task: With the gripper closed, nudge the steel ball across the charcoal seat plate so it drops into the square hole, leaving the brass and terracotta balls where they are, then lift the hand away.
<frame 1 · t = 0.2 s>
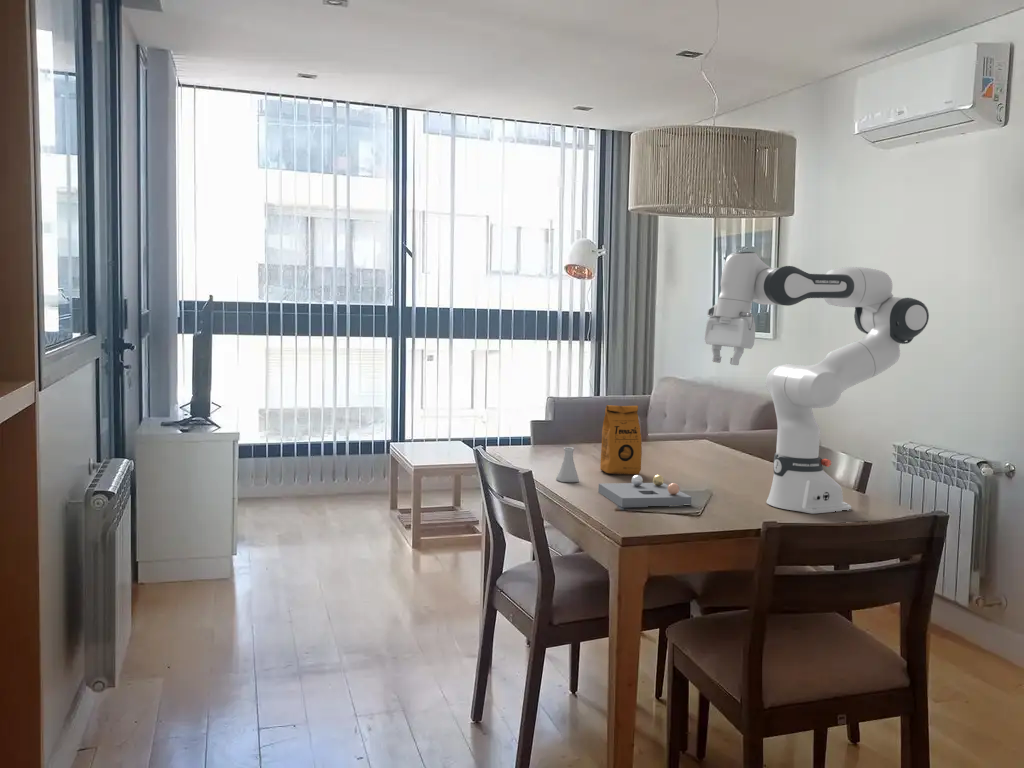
hand: (725, 363, 221), 39 cm above the table, tool pointing down, fingers open, 8 cm apart
brass ball: (658, 480, 237), point 4 cm above the table, touching seat plate
seat plate: (643, 498, 230), on the table
flask: (567, 481, 251), on the table
steel ball: (637, 480, 235), point 4 cm above the table, touching seat plate
terracotta ball: (673, 488, 226), point 4 cm above the table, touching seat plate
coffee package: (620, 473, 266), on the table
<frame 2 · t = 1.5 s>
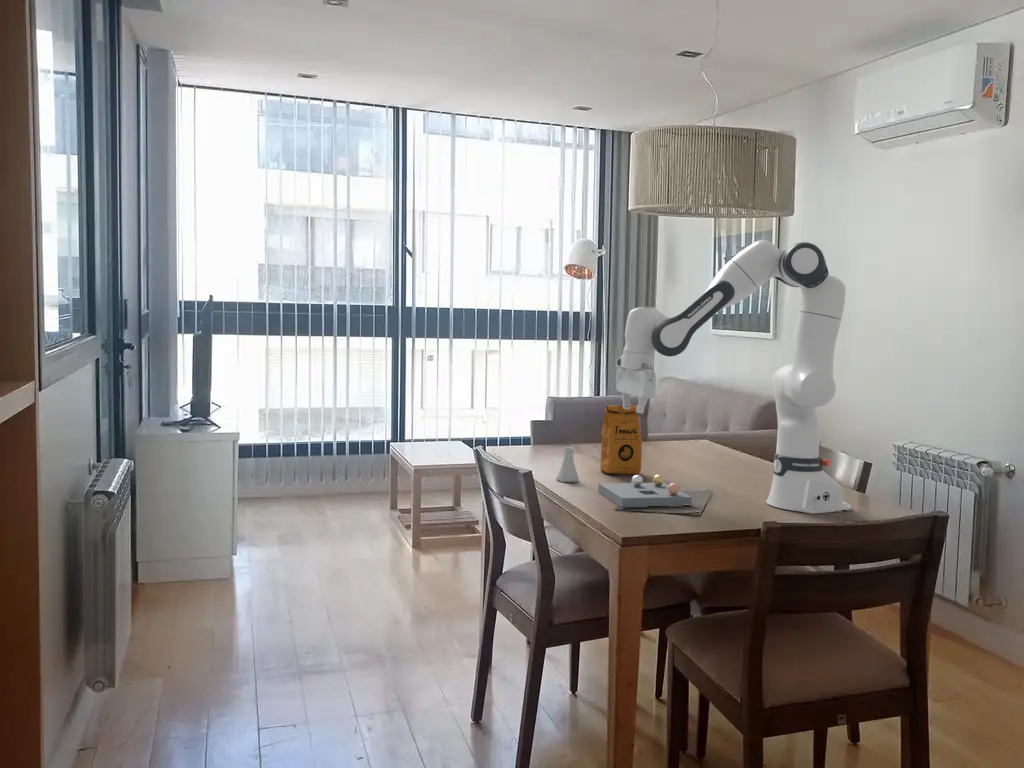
hand: (633, 411, 237), 23 cm above the table, tool pointing down, fingers open, 8 cm apart
nothing on the table moved.
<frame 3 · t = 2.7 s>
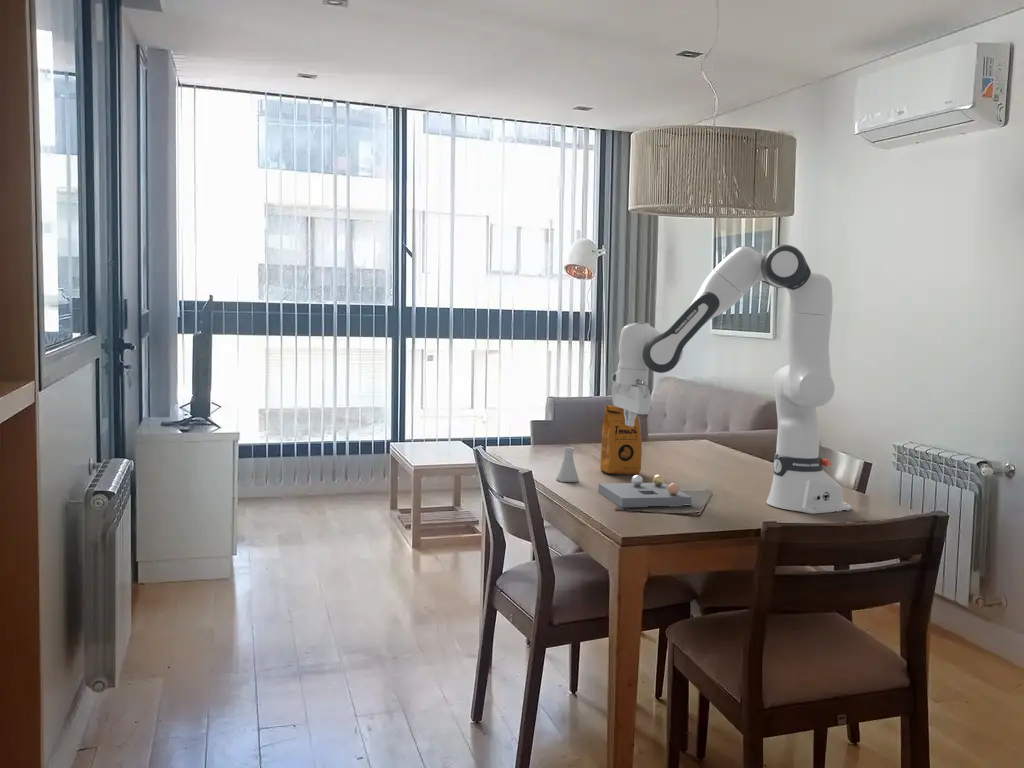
hand: (629, 425, 241), 19 cm above the table, tool pointing down, fingers closed
nothing on the table moved.
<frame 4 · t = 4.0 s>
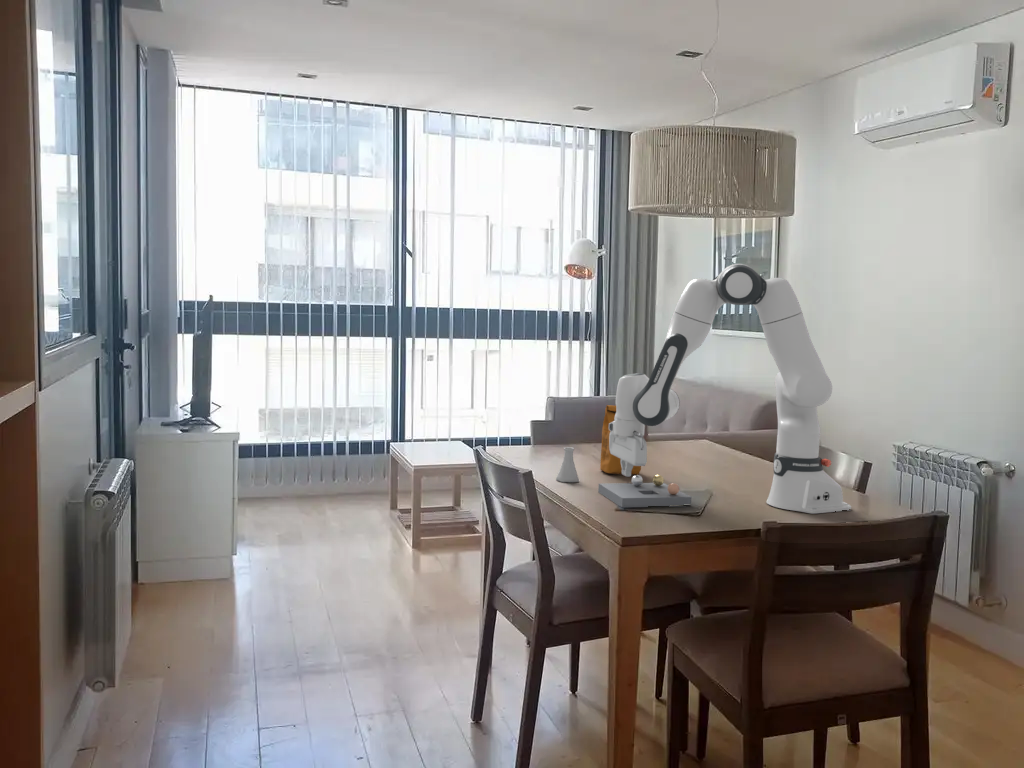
hand: (626, 475, 242), 4 cm above the table, tool pointing down, fingers closed
nothing on the table moved.
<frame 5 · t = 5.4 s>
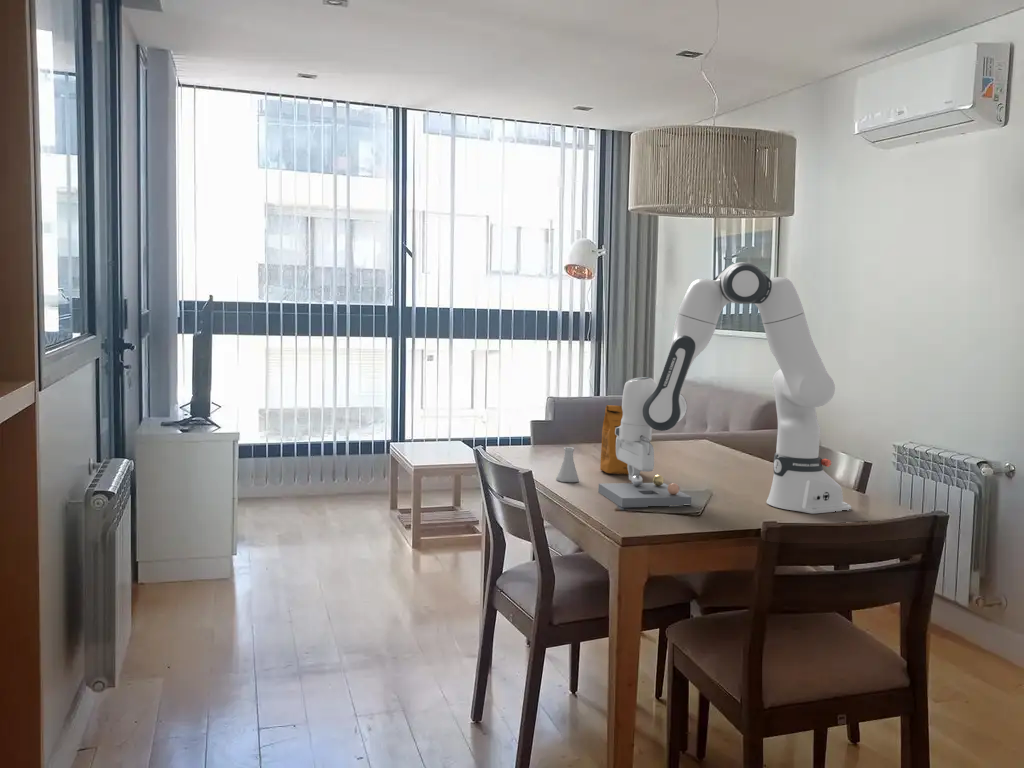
hand: (633, 481, 238), 3 cm above the table, tool pointing down, fingers closed
steel ball: (637, 480, 235), point 4 cm above the table, touching gripper, seat plate
everything else where it was.
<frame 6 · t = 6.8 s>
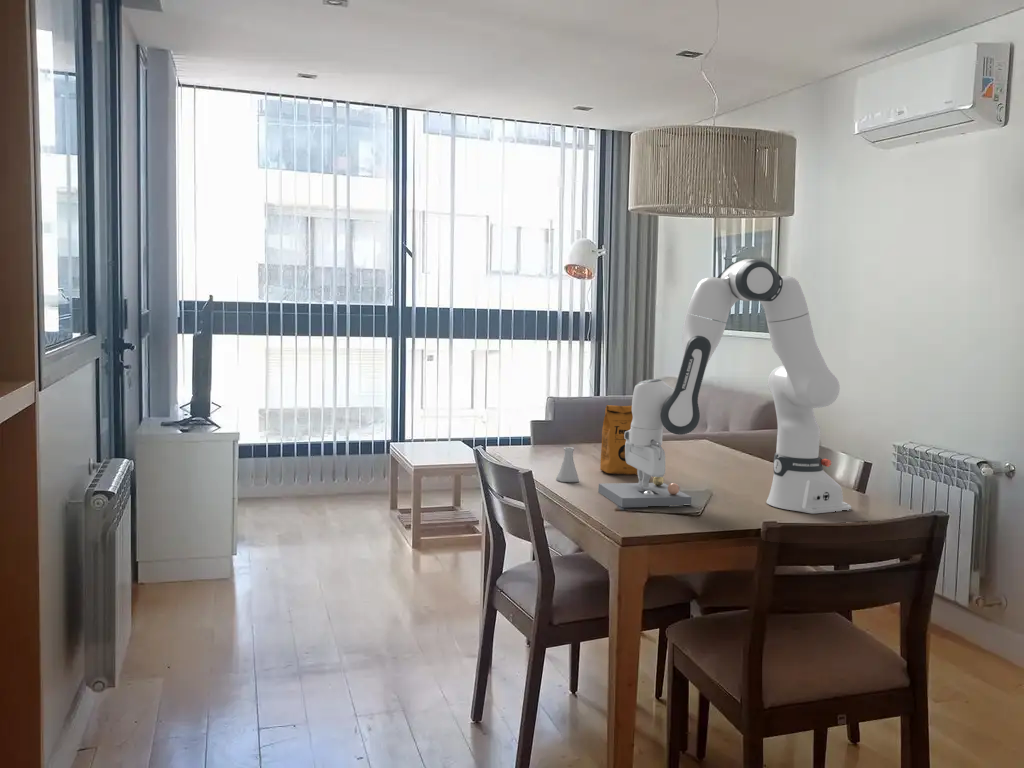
hand: (643, 486, 231), 3 cm above the table, tool pointing down, fingers closed
steel ball: (648, 496, 227), point 2 cm above the table, tilted 19°
everything else where it was.
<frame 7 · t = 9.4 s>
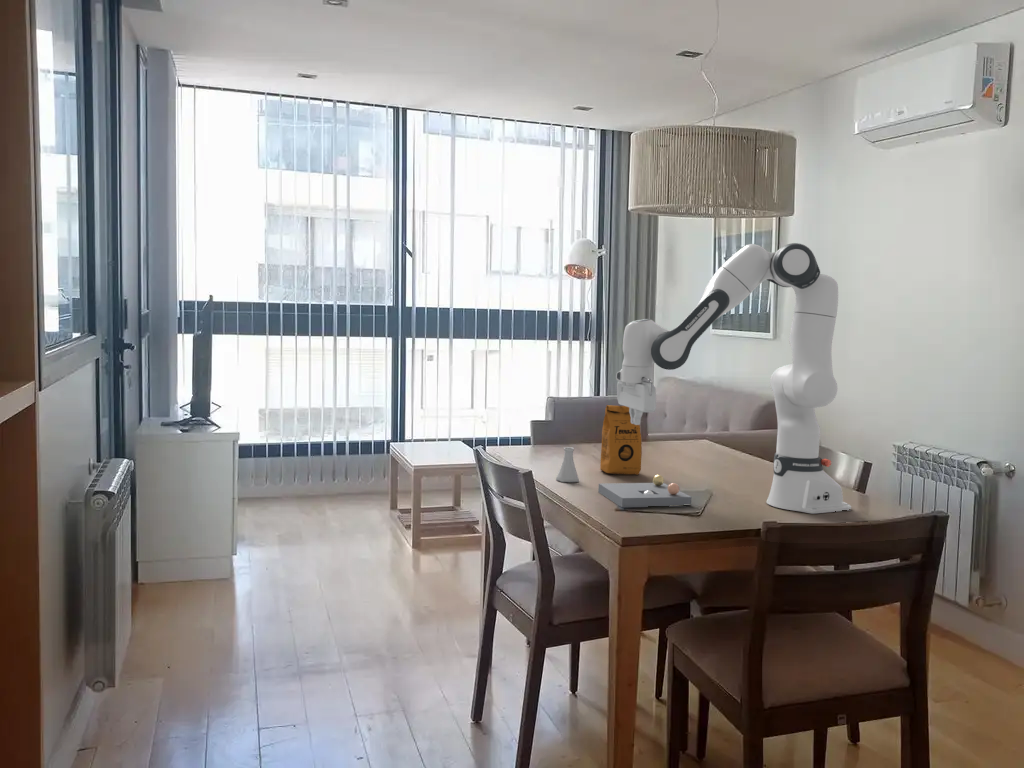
hand: (635, 424, 237), 20 cm above the table, tool pointing down, fingers closed
nothing on the table moved.
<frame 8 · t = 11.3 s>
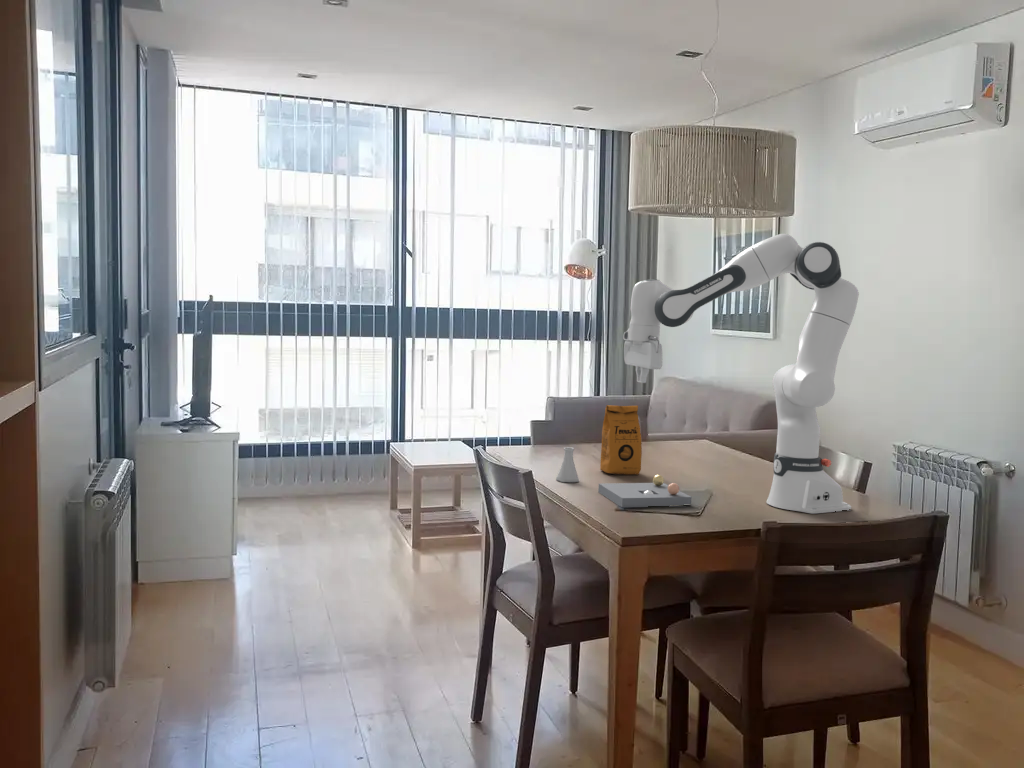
hand: (641, 382, 243), 31 cm above the table, tool pointing down, fingers closed
nothing on the table moved.
at the end: steel ball 0.5 cm from the target spot on the seat plate, point 1.6 cm above the seat plate's base; brass ball moved 0.1 cm from its start; terracotta ball moved 0.1 cm from its start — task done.
